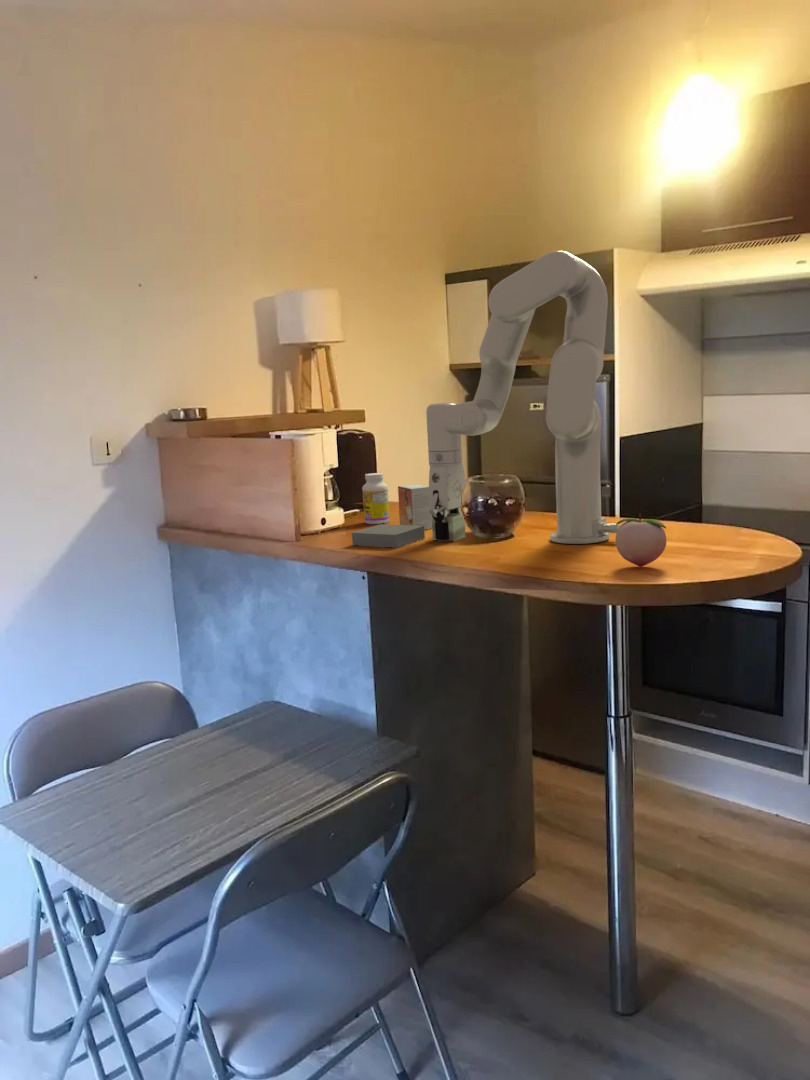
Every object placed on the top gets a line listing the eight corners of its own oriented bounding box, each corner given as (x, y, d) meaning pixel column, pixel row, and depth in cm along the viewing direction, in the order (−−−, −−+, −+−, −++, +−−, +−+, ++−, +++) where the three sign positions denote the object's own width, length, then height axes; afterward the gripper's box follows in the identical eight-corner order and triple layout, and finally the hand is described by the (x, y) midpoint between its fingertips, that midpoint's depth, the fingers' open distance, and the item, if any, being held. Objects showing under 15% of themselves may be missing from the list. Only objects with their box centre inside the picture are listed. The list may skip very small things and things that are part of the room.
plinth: (424, 538, 212) (424, 525, 211) (397, 548, 202) (396, 534, 201) (381, 536, 218) (380, 524, 218) (352, 545, 208) (351, 532, 208)
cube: (465, 537, 211) (464, 513, 210) (454, 541, 206) (452, 517, 205) (444, 536, 213) (443, 513, 213) (432, 540, 209) (431, 516, 208)
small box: (399, 527, 231) (397, 485, 229) (419, 524, 233) (417, 483, 231) (413, 531, 223) (410, 488, 222) (433, 528, 226) (431, 486, 224)
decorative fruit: (610, 571, 167) (609, 517, 165) (619, 562, 174) (618, 510, 172) (663, 573, 163) (663, 517, 161) (670, 563, 170) (669, 510, 169)
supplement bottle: (362, 522, 243) (359, 473, 240) (386, 519, 244) (383, 471, 242) (367, 525, 236) (364, 476, 234) (392, 523, 238) (389, 474, 235)
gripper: (441, 462, 197) (445, 544, 201) (477, 454, 212) (480, 531, 215) (411, 462, 201) (415, 543, 204) (449, 454, 216) (452, 530, 219)
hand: (449, 536), depth 210 cm, fingers closed on cube, 5 cm apart
